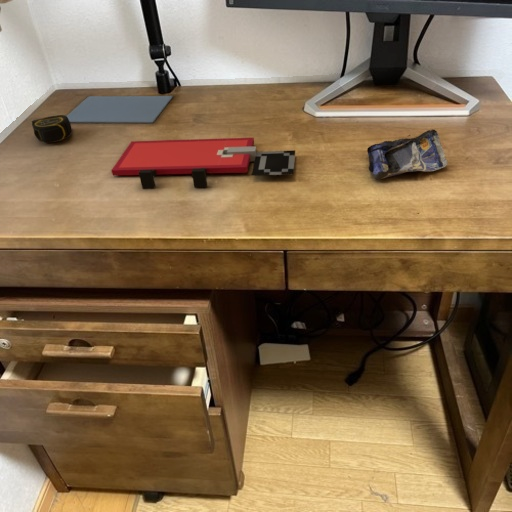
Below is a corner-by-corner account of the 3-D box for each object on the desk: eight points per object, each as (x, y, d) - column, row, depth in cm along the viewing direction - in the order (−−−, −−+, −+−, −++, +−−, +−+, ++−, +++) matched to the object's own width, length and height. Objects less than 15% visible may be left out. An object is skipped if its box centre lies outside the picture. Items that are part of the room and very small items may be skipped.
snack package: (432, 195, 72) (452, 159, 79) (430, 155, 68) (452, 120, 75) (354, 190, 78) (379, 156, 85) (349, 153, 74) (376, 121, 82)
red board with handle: (293, 185, 75) (296, 143, 87) (292, 169, 74) (295, 128, 85) (105, 189, 79) (133, 148, 91) (101, 173, 77) (129, 134, 89)
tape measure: (71, 128, 99) (65, 110, 97) (76, 141, 94) (70, 122, 92) (36, 136, 97) (29, 118, 95) (38, 149, 92) (32, 130, 90)
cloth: (60, 122, 102) (60, 121, 102) (89, 97, 113) (88, 96, 112) (153, 123, 99) (152, 121, 98) (173, 97, 109) (172, 95, 109)
